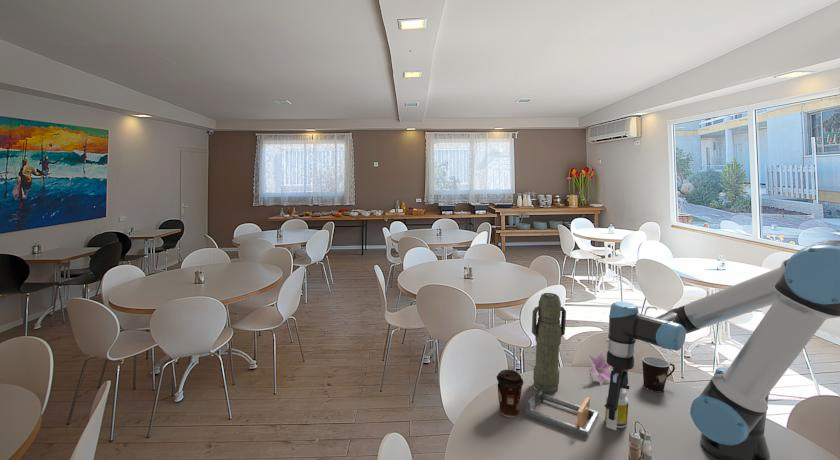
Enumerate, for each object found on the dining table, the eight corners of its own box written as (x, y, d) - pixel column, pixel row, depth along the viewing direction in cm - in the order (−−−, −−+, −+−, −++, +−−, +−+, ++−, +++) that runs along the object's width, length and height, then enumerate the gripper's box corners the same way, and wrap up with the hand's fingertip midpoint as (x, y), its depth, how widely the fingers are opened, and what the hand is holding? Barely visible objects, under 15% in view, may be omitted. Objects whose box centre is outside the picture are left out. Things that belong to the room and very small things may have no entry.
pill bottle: (629, 430, 118) (632, 396, 117) (607, 427, 119) (610, 393, 118) (623, 418, 124) (625, 385, 123) (602, 415, 126) (604, 383, 124)
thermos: (525, 382, 146) (528, 292, 142) (553, 379, 149) (558, 290, 144) (536, 395, 138) (540, 299, 133) (566, 391, 140) (571, 297, 136)
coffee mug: (643, 391, 141) (645, 365, 140) (637, 379, 149) (639, 355, 148) (680, 396, 137) (682, 369, 136) (672, 384, 146) (674, 359, 144)
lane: (598, 417, 125) (599, 405, 124) (587, 438, 114) (588, 425, 114) (540, 397, 136) (540, 386, 135) (525, 414, 126) (526, 403, 125)
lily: (581, 386, 146) (595, 370, 141) (574, 361, 156) (586, 345, 151) (611, 395, 147) (625, 379, 142) (601, 370, 157) (615, 354, 152)
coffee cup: (491, 414, 126) (492, 376, 124) (499, 402, 133) (500, 366, 131) (518, 422, 122) (520, 383, 120) (524, 409, 129) (526, 371, 127)
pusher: (588, 416, 125) (589, 397, 124) (580, 431, 117) (581, 412, 116) (548, 402, 133) (549, 385, 132) (537, 415, 125) (538, 397, 124)
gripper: (615, 337, 131) (611, 396, 134) (597, 363, 112) (593, 432, 114) (640, 342, 127) (636, 404, 129) (626, 371, 107) (621, 443, 110)
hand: (616, 417), depth 122 cm, fingers open, 13 cm apart
